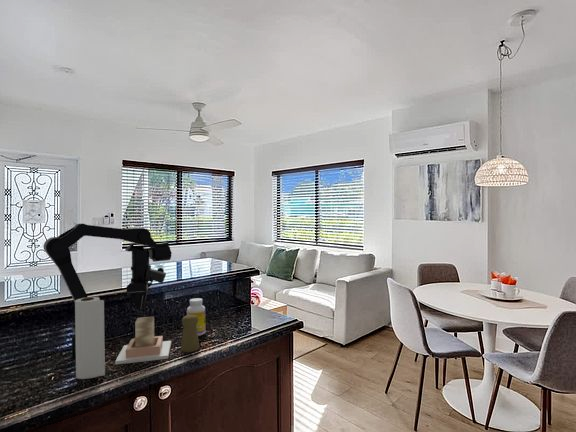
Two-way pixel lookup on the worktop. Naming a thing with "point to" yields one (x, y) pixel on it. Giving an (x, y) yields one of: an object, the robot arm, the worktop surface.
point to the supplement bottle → (198, 314)
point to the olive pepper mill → (190, 334)
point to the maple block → (144, 331)
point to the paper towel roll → (89, 337)
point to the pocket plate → (144, 351)
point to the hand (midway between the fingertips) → (141, 306)
